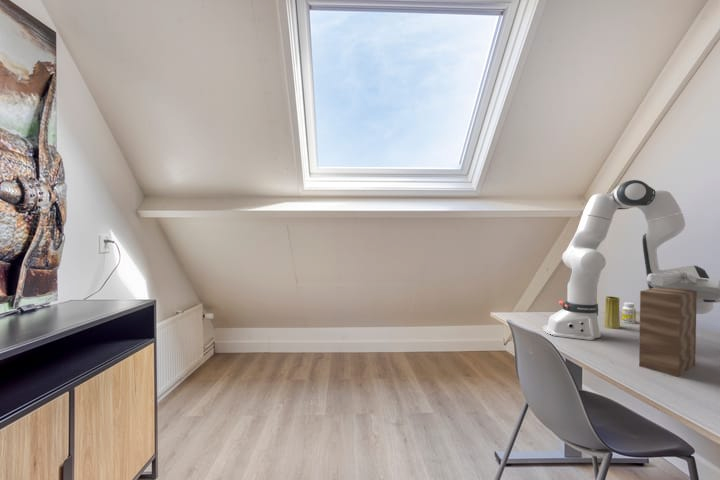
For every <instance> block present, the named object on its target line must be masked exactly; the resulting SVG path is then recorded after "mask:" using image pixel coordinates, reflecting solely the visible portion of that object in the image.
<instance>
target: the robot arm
mask: <svg viewBox="0 0 720 480" xmlns="http://www.w3.org/2000/svg"><path fill="white" fill-rule="evenodd" d="M632 208H637V209H639V210H640V211H641V212H642V213H643V214H644V217H645V220H646V224H647V230H646V233H644V234H643V235H642V241H641V242H642V251H643V259H644V265H645V266H644V267H645V273H646V281H645V282H646V286H647V288H648V289H651V288H655V287H667V288H676V289H685V290H694V291H697V302H696V315H704V314H709V313H710V312H711V311H712V310H713V309H714V303H720V279H718V278H710V276H709V275H708V273H707V271H706V270H705V269H704V268H702V267H700V266H698V265H689V266H687V265H686V266H681V267H677V268H670V269H660V267H659V259H658V254H657V250H658V249H659V247H660V246H662V244H664V243H666V242H669V241H670V240H672V239H673V238H675V237H677V236H678V235H680V234H681V233H682V232H683V231H684V229H685V227H686V220H685V217H684V214H683V212H682V210H681V208H680V206H679V203H678V202H677V200H676V199H675V197H674V196H673V194H672V193H671V192H669V191H668V190H660V189H659V190H655V189H654V188H652V187H651V186H650V185H648V184H647V183H646V182H645V181H643V180H642V181H641V180H640V179H630V180H626V181H624V182H622V183H621V184H618V185H617V187H615V188H613V190H612V191H611V192H609V193H605V192H602V193H601V192H600V193H599V192H598V193H595V194H592V195H591V197H589V200H588V201H587V203H586V205H585V207H584V210H583V212H582V215H581V217H580V221H579V223H578V227H577V229H576V231H575V233H574V236H573V237H572V239H571V240H570V242H569V244H568V246H567V248H566V250H565V251H563V253H562V256H561V261H562V262H563V263H564V265H565V266H566V268H569V269H571V274H570V278H569V281H568V283H567V288H566V289H567V293H566V294H567V299H566V301H562V300H559V302H558V304H559V305H560V306H561V307H562V309H560V310H558V311H556V312H554V314H551V315H550V316H549V318H548V321H547V324H544V325H542V328H543V329H542V330H543V332H544V333H546V334H547V333H548V334H547V335H550V334H551V335H550V336H552V335H553V337H561V338H571V339H578V340H585V341H586V340H588V341H594V340H595V339H597V338H601V337H602V334H601V331H600V328H599V321H598V316H599V304H598V284H599V281H600V277H601V273H602V272H603V270H604V269H605V267H606V264H607V263H606V262H607V261H606V258H605V256H604V254H602V253H601V252H600V251H598V249H599V246H600V245H601V243H602V242H603V241H605V240H606V238H607V235H608V233H609V229H610V227H611V223H612V222H613V221H612V220H613V218H614V214H615V213H616V212H617V210H628V209H632ZM671 271H687V274H685V273H684V274H683V278H684V281H680V282H676V283H672V284H668V285H664V286H660V285H651V275H656V274H661V273H666V272H671Z"/></svg>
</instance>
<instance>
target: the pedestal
mask: <svg viewBox="0 0 720 480" xmlns="http://www.w3.org/2000/svg"><path fill="white" fill-rule="evenodd" d="M639 293H640V295H639V298H640V299H639V348H638V349H639V354H638V355H639V356H638V360H639V363H638V365H639V367H642V368H645V369H649V370H652V371H655V372H658V373H662V374H667V375H669V376H673V377H677V378H679V377H681V376H682V375H683V374H685V373H687V372H688V371H690V370H691V369H693V368H694V367H696V347H697V346H696V342H697V314H696V302H697V291H694V290H685V289H676V288H667V287H655V288H651V289H649V288H648V289H644V290H640V291H639Z"/></svg>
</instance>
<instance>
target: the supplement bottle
mask: <svg viewBox="0 0 720 480" xmlns="http://www.w3.org/2000/svg"><path fill="white" fill-rule="evenodd" d="M636 314H637V309H636V307H635V303H633V302H628V301H627V302H623V306H622V307H621V321H622V323H626V324H635V323H636V317H637V315H636Z"/></svg>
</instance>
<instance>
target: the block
mask: <svg viewBox="0 0 720 480" xmlns="http://www.w3.org/2000/svg"><path fill="white" fill-rule="evenodd" d="M684 273H685V274H687V271H671V272H666V273H661V274H656V275H651V285H660V286H664V285H668V284H672V283H676V282H680V281H684V278H683V274H684Z"/></svg>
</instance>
